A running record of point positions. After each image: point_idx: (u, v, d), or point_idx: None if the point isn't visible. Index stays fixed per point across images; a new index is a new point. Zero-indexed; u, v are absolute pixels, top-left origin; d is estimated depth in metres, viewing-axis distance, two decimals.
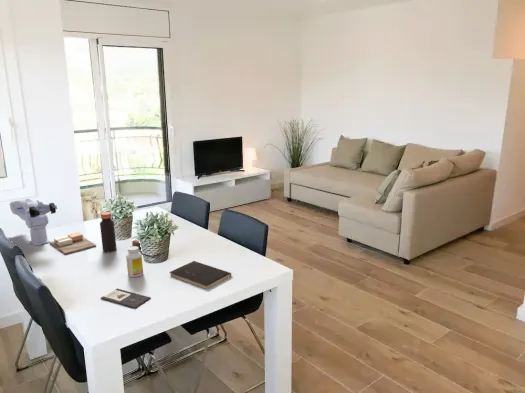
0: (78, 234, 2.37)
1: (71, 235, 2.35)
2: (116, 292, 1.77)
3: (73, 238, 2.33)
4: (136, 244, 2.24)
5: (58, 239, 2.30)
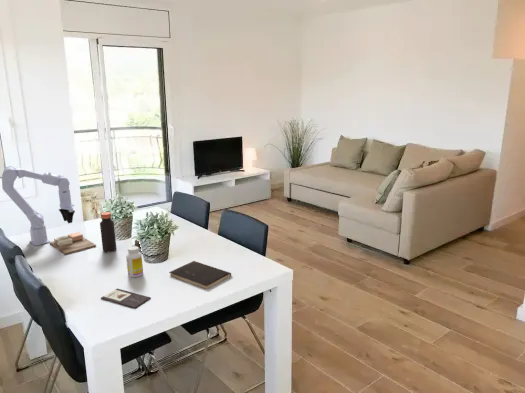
0: (78, 234, 2.37)
1: (71, 235, 2.35)
2: (116, 292, 1.77)
3: (73, 238, 2.33)
4: (138, 243, 2.25)
5: (58, 239, 2.30)
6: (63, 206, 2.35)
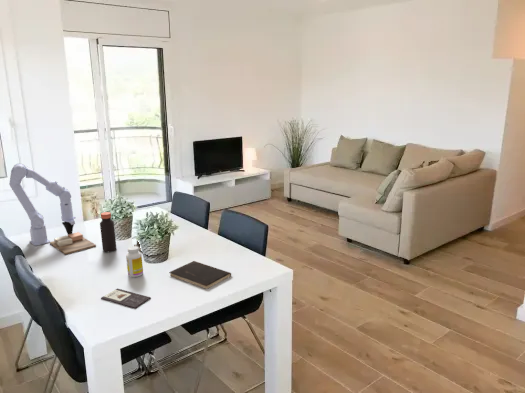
0: (78, 234, 2.37)
1: (71, 235, 2.35)
2: (116, 292, 1.77)
3: (73, 238, 2.33)
4: None
5: (58, 239, 2.30)
6: (65, 219, 2.37)
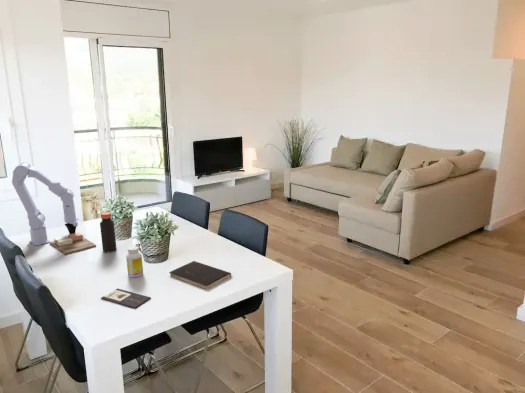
0: (78, 234, 2.37)
1: (71, 235, 2.35)
2: (116, 292, 1.77)
3: (73, 238, 2.33)
4: None
5: (58, 239, 2.30)
6: (67, 220, 2.34)
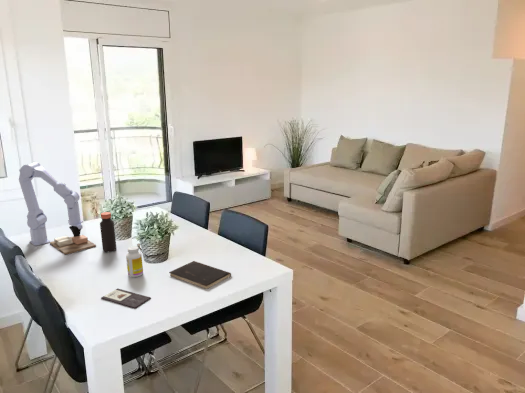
0: (83, 237, 2.32)
1: (76, 238, 2.31)
2: (117, 292, 1.77)
3: (78, 241, 2.29)
4: None
5: (58, 239, 2.30)
6: (72, 223, 2.30)
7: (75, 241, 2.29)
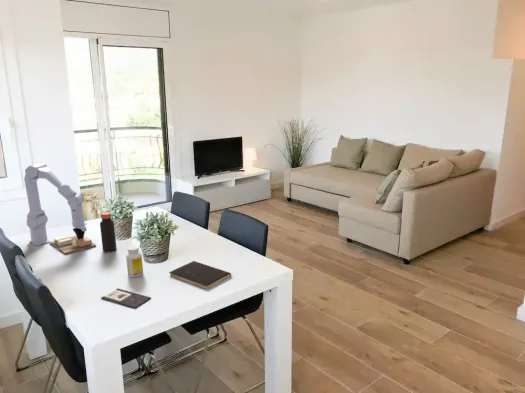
0: (87, 239, 2.29)
1: (79, 240, 2.27)
2: (117, 292, 1.77)
3: (82, 243, 2.25)
4: None
5: (58, 239, 2.30)
6: (76, 225, 2.26)
7: (79, 243, 2.26)
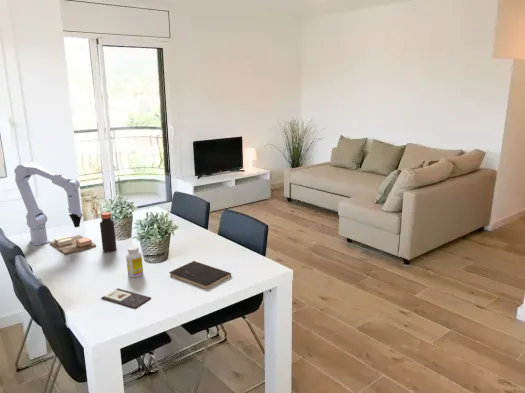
0: (87, 239, 2.29)
1: (79, 240, 2.27)
2: (117, 292, 1.77)
3: (82, 243, 2.25)
4: None
5: (58, 239, 2.30)
6: (72, 211, 2.27)
7: (79, 243, 2.26)
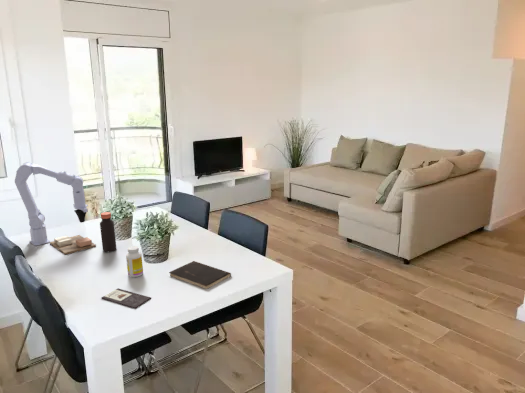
0: (87, 239, 2.29)
1: (79, 240, 2.27)
2: (117, 292, 1.77)
3: (82, 243, 2.25)
4: None
5: (58, 239, 2.30)
6: (77, 206, 2.35)
7: (79, 243, 2.26)
